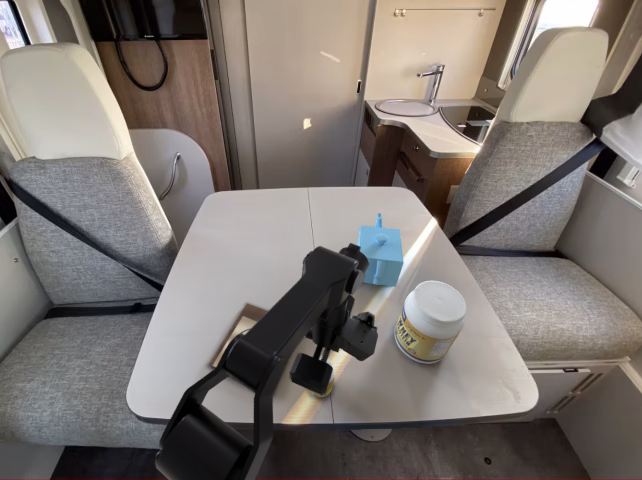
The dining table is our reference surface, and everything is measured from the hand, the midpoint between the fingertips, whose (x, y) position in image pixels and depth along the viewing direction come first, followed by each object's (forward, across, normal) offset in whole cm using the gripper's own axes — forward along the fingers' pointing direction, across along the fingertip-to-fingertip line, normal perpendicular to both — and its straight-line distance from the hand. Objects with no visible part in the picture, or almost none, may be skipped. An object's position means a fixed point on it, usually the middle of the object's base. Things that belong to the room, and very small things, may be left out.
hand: (322, 357), depth 60 cm
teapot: (+13, +39, -4) cm, 41 cm away
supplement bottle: (+13, 0, 0) cm, 13 cm away
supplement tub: (+13, +19, -19) cm, 30 cm away
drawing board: (+12, +3, +17) cm, 21 cm away
